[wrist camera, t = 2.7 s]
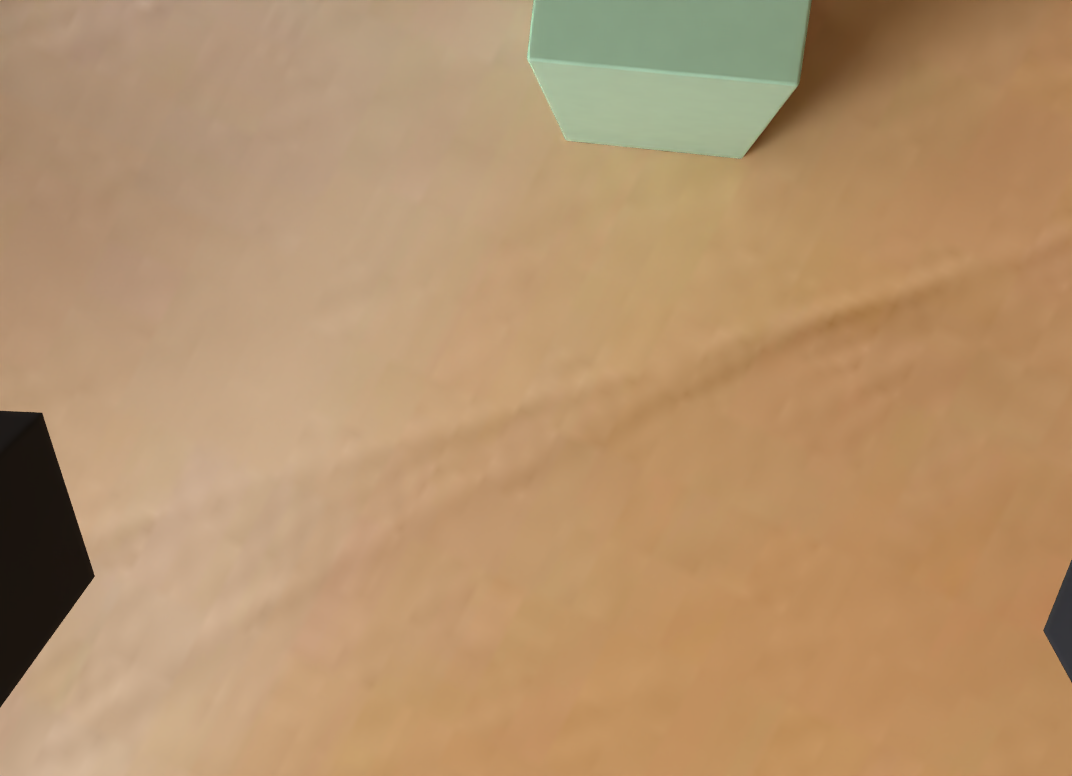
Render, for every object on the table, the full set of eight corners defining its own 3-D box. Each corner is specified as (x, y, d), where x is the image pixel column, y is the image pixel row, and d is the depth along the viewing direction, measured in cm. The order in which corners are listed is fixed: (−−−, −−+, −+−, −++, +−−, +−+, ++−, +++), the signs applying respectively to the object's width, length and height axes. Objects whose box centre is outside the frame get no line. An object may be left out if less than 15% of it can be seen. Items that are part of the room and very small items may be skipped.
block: (565, 141, 28) (525, 60, 19) (587, -42, 28) (558, -228, 18) (742, 159, 28) (799, 86, 18) (768, -27, 27) (843, -209, 17)
